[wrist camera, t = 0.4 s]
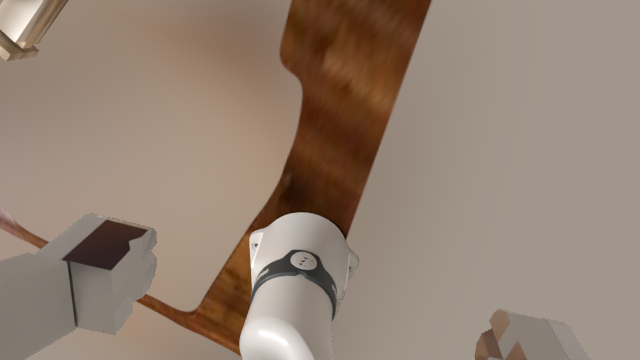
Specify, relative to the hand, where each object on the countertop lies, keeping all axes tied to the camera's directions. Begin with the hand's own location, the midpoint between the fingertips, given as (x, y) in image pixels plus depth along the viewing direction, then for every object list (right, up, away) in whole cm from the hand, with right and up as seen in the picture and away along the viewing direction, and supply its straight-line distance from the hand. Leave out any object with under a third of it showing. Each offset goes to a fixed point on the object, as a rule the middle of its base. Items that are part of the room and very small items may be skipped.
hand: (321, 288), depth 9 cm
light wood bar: (-37, +27, +43) cm, 63 cm away
